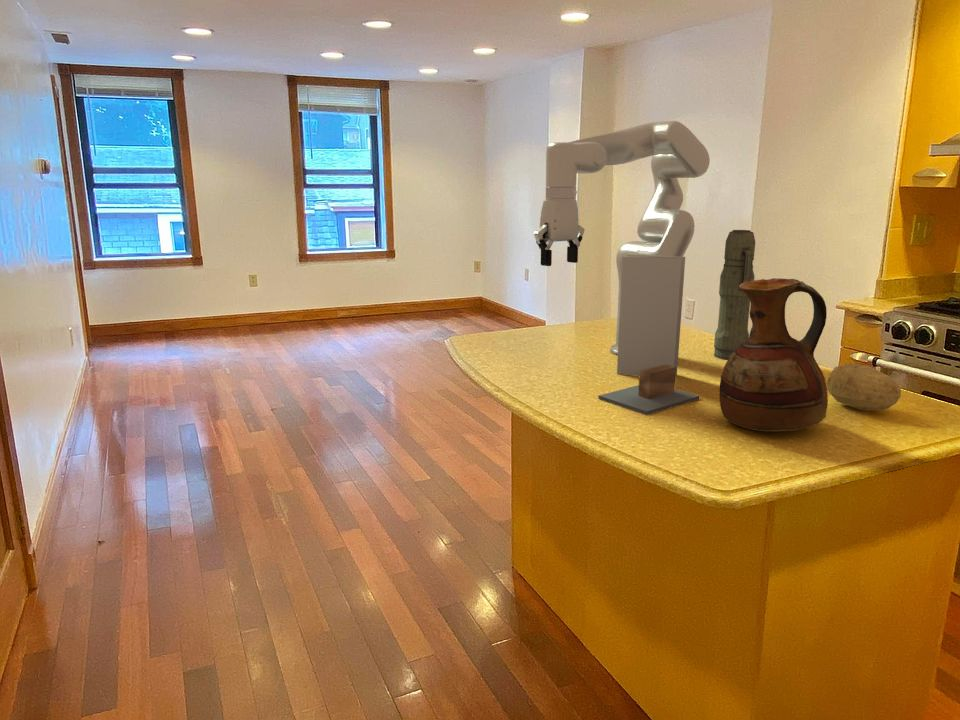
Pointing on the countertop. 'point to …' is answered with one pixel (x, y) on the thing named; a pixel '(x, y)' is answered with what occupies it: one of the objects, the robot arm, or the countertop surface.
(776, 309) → the ceramic pitcher
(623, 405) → the mat
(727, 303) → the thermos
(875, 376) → the potato
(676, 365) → the thin beige panel
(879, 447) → the countertop surface
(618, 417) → the countertop surface
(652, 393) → the brown angular block
